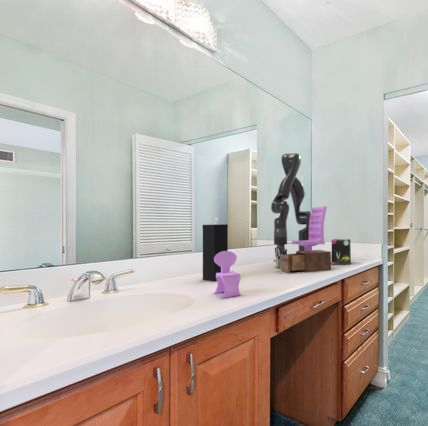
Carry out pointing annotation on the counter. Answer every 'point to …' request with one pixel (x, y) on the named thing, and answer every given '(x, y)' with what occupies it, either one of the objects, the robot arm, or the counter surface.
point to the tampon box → (341, 251)
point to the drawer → (291, 262)
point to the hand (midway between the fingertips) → (280, 266)
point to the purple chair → (314, 229)
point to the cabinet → (316, 260)
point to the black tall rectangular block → (213, 248)
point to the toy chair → (227, 274)
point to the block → (277, 263)
